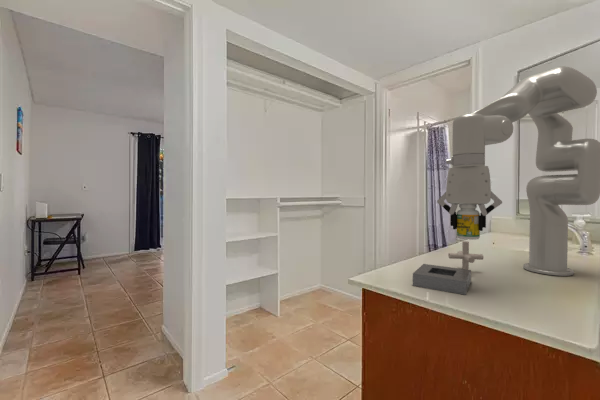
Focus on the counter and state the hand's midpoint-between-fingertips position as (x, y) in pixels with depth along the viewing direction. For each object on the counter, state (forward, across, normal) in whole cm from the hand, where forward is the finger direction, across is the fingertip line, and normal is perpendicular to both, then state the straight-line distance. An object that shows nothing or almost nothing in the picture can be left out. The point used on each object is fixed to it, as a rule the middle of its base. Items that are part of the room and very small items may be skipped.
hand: (467, 228), depth 76 cm
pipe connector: (+17, -2, +20) cm, 26 cm away
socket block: (+16, -6, +2) cm, 18 cm away
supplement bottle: (+3, 0, 0) cm, 3 cm away
